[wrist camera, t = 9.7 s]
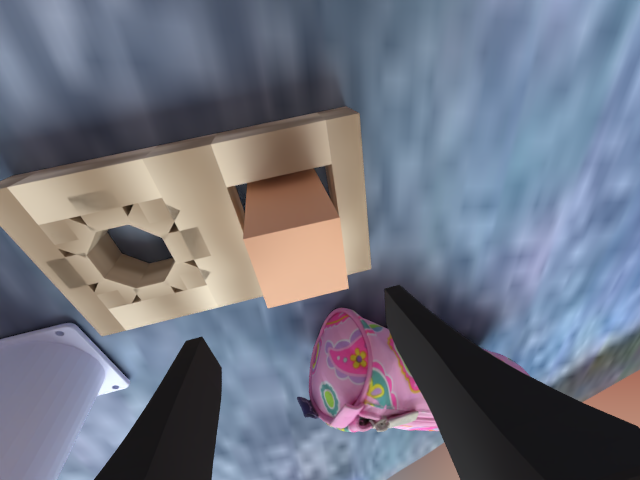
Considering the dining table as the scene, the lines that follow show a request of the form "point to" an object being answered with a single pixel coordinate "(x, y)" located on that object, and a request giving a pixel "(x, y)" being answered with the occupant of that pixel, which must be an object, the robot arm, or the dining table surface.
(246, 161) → the socket plate
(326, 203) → the peg
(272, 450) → the dining table surface
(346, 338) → the pencil case
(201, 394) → the robot arm
